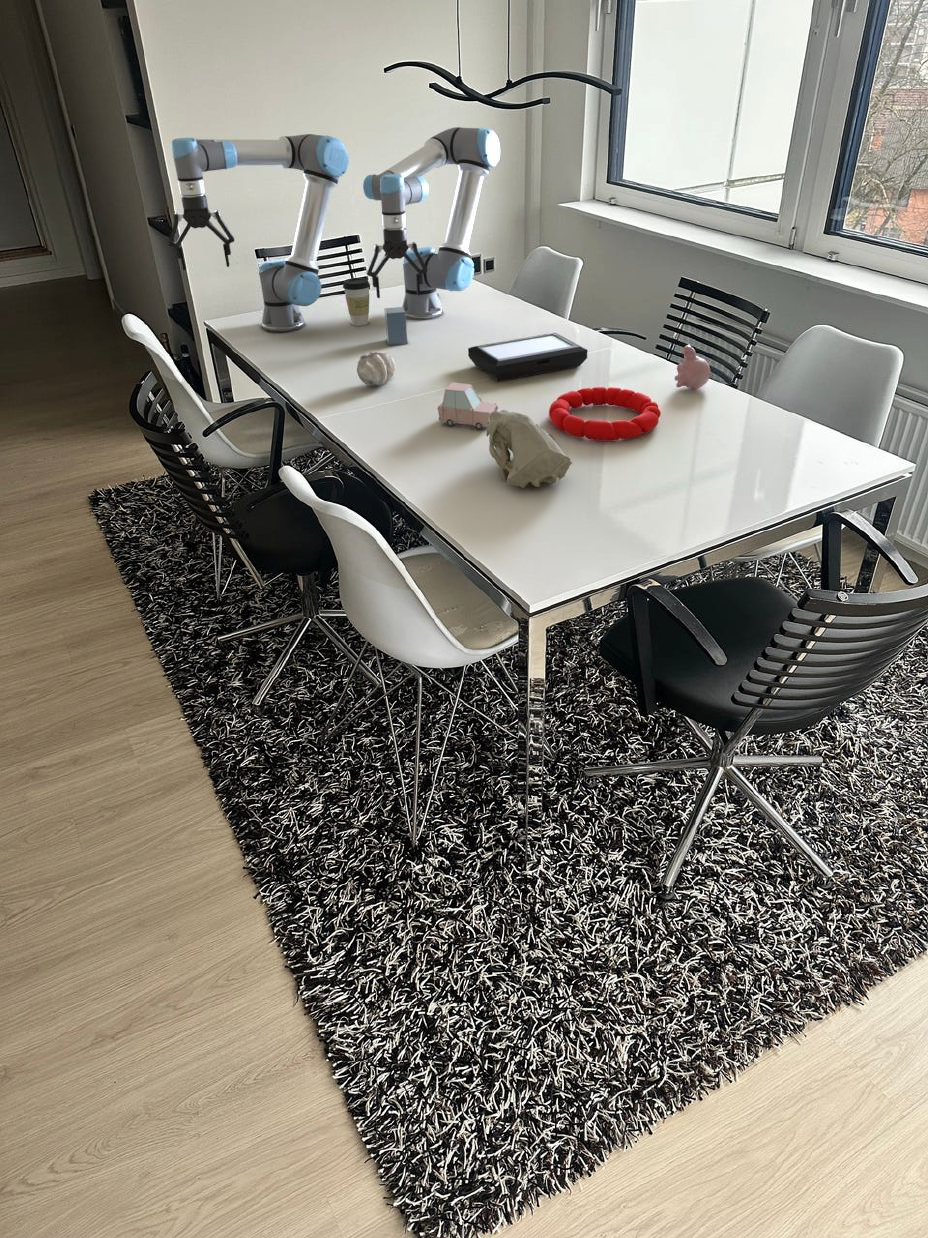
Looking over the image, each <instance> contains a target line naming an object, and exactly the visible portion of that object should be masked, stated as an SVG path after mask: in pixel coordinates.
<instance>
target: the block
mask: <svg viewBox="0 0 928 1238" xmlns="http://www.w3.org/2000/svg"><path fill="white" fill-rule="evenodd" d="M383 311H384V322H385V324H384V325H385V337H386V342H387V345H388V346H398V345H400V346H401V345H408V332H407V331H408V330H407V318H406V314H405V310H404V308H403V307H402V306H397V307H384V310H383Z"/></svg>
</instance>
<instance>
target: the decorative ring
mask: <svg viewBox="0 0 928 1238" xmlns="http://www.w3.org/2000/svg"><path fill="white" fill-rule="evenodd" d="M583 405H584V406H586V407H587V406H591V405H593V406H604V405H608V406H614V407H619V408H624V409H628V410H632V411H635V412H636V413H638V414H639V415H637V416H635V417H632V418H631V419H630V420H625V419H624V420H623V419H622V420H614V421H611V422H609V421H607V420H606V421H605V420H593V419H587V420H586V421H585V419H584V418H582V417H579V416H577V415H573V414H571V413H570V410H571V409H579V408H581V407H582V406H583ZM548 416H549V419H550V422H551V423H552V425H553V426H554V427H555V428H556V429H558V430H559V431H561V432H563V433H567V434H568V435H569V436H573V437H576V438H580V439H582V438H583V437H585V438H586V439H587V440H591V441H601V442H602V441H603V442H608V441H609V442H610V441H611V442H612V441H615V442H616V441H618V440H630V439H634V438H638V437H641V436H642V434H647V433H650V432H651V431H653V430H654V429H655V428H656V427H657V426H658V424H659V422H660V421H659V420H660V417H661V410H660V408H659V405H658V403H657V402H656V401H652V399H651V397H649V396H648V395H646V394H644V393H642V392H635V391H634V390H632V389H628V388H624V389H622V388H620V387H613V386H612V387H611V386H610V387H608V388H606V387H604V386H594V387H585V388H584V387H583V388H580V389H578V390H571V391H568V392H565V393H563V394H561V395H560V396H558V397H557V398H556V400H554V401H552V403H551V404H550V407H549V409H548Z"/></svg>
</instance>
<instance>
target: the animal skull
mask: <svg viewBox="0 0 928 1238" xmlns="http://www.w3.org/2000/svg"><path fill="white" fill-rule="evenodd" d="M485 436H486V438H487V437H489V438H488V440H489V444H488V445H489V446H488V450H489V454H490V456H491V457H492V458H493V459H494V460H495V462H496V464H497V466H499V468H500V470H501V471H502V472H501V478H502V479H507V480H506V484H507V486H517V487H518V486H519V488H523V489H524V488H526V486H527V485H529V483H531V485H533V486H534V487H536V488H540V485H541V484H542V482H544V483H549V484H550V485H553V484H555V483H556V482H557V480H561V479H563V478H565V476H566V474H567V472H568V471H569V469H570V467H571V466H572V464H573V462H572V461H571V458H570V457H568V456H567V455H565V453H564V451H562V449H561V448H560V446H559V444H557V443H556V439H555V438H554V436H553V435H551V434H550V433H548V432H547V431H546V430H545V429H544V428H542V427H541V426H539V425H538V424H537V423H536V424H535V422H534V421H533V419H532V418H531V417H530V416H529V415H527V414H524V413H519V412H515V411H509V410H507V409H502V410H500V411H499V410H497V411H496V412H492V413H491V414H490V422H488V423H487V427H486V435H485ZM511 453H512V454H511ZM511 455H512V457H513V458H512V460H511ZM507 474H508V475H507Z"/></svg>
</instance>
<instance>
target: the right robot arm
mask: <svg viewBox="0 0 928 1238" xmlns="http://www.w3.org/2000/svg"><path fill="white" fill-rule="evenodd" d="M500 157H501V145H500V141H499V138H498V135H497V133H496V132H495V131H494V130H492V129H490V128H484V127H460V126H456V127H451V128H447V129H445V130H443V131H441V132H438V133H437V134H435V135H433V136H431V137H430V138H428V139H427V140H426V141H425V142H424V144H423V146H422V147H420V148H419V149H417V150H415V151H414V152H412V153H411V154H409V155H408V156H406V157H404V158H403V159H402V160H400V161H398V162H397V163H395V164H393V165H392V166H391V167H389V168H387V169H386V170H384V171H383V172H381V173H379V174H368V175H366V176H365V178H364V180H363V181H362V182H363V183H362V190H363V193H364V196H365V198H367V199H369V200H374V201H376V202H378V201H380V202H381V203H380V204H381V221H382V228H383V229H382V235H383V236H382V237H383V243H382V245H381V244H379V245H378V244H377V243H375V244H374V246H373V253H372V256H371V259H370V261H369V264H368V266H367V268H366V272H365V273H366V276H367V277H371V280H372V281H371V282H372V286H373V288H375V291H376V297H377V299H380V298H381V294H380V293H381V292H380V280H379V279H380V278H379V276H378V275H379V273H380V272H381V270H382V269H383V267H384V266H385V264H386V263H387V262H388V261H389V260H390V259H391V260H396V259H398V260H400V259H401V260H402V261H403V262H402V266H403V268H402V269H403V280H404V298H403V301H402V306H401V307H403V308H404V310H405V314H406V319H409V320H415V321H416V320H417V321H418V320H419V321H424V320H432V319H435V318H439V317H441V316H442V315H443V307H442V304H441V301H440V299H439V298H440V295H439V293H438V292H437V289H438V290H443V291H444V290H445V291H449V292H462V291H465V290H466V289H467V288H468V287H470V284H471V283H472V280H473V278H474V275H475V268H474V266H475V264H474V262H473V261H474V260H472V259H471V256H472V254H471V252H470V250H469V245H470V241H471V237H472V233H473V232H472V231H473V227H474V224H475V218H476V215H477V214H476V213H477V210H478V205H479V201H480V196H481V191H482V187H483V183H484V179H485V178H487V177H488V176H489V174H490V170H491V168H494V167H496V166H497V164H498V163H499V161H500ZM446 165H456V168H457V170H458V172H459V173H458V177H457V184H456V187H455V191H454V197H453V200H452V201H453V202H452V206H451V210H450V215H449V220H448V224H447V230H446V235H445V239H444V243H443V244H441V245H439V247H438V251H437V253H436V249H435V248H434V247H431V246H429V247H427V246H426V247H419V248H418V246H417V243H416V242H415V241H412V243H411V242H410V243H408V239H407V237H408V236H407V228H405V227H406V226H407V223H406V222H407V219H406V206H409V205H412V204H419V203H420V202H423V201H425V200H426V199H427V198H428V196H429V193H430V187H429V183H428V181H427V180H426V179H425V178H424V177H423V176H424V175H426V174H427V173H428V172H430V171H431V170H433V169H439V168H441V167H443V166H446ZM409 249H410V250H409ZM382 251H384V255H383V257H382V258H381V260H380V261H379V262H378V264H377V265H376V267H375V264H376V262H377V259H378V257H379V254H380V253H381V252H382ZM374 267H375V268H374Z"/></svg>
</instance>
